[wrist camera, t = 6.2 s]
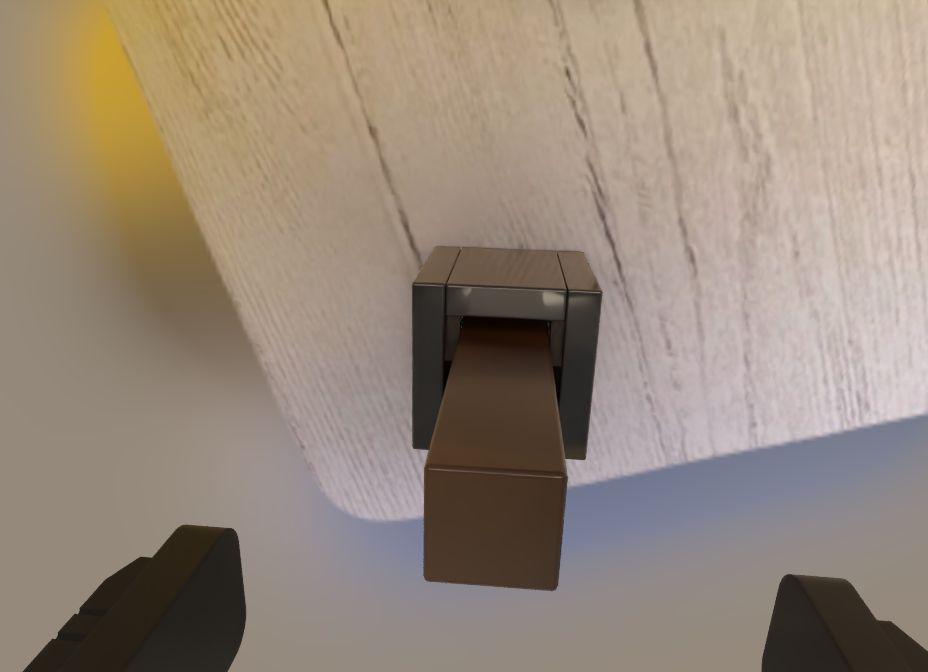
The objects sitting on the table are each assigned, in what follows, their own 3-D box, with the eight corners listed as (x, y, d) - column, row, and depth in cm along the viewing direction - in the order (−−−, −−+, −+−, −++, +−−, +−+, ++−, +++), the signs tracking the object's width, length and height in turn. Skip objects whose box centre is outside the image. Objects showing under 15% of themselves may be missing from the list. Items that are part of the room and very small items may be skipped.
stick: (469, 350, 23) (422, 583, 11) (471, 284, 22) (423, 465, 11) (537, 353, 23) (558, 594, 11) (542, 287, 22) (568, 474, 11)
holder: (433, 381, 23) (411, 449, 19) (434, 245, 22) (411, 282, 17) (572, 389, 23) (585, 460, 18) (584, 251, 21) (603, 290, 17)
